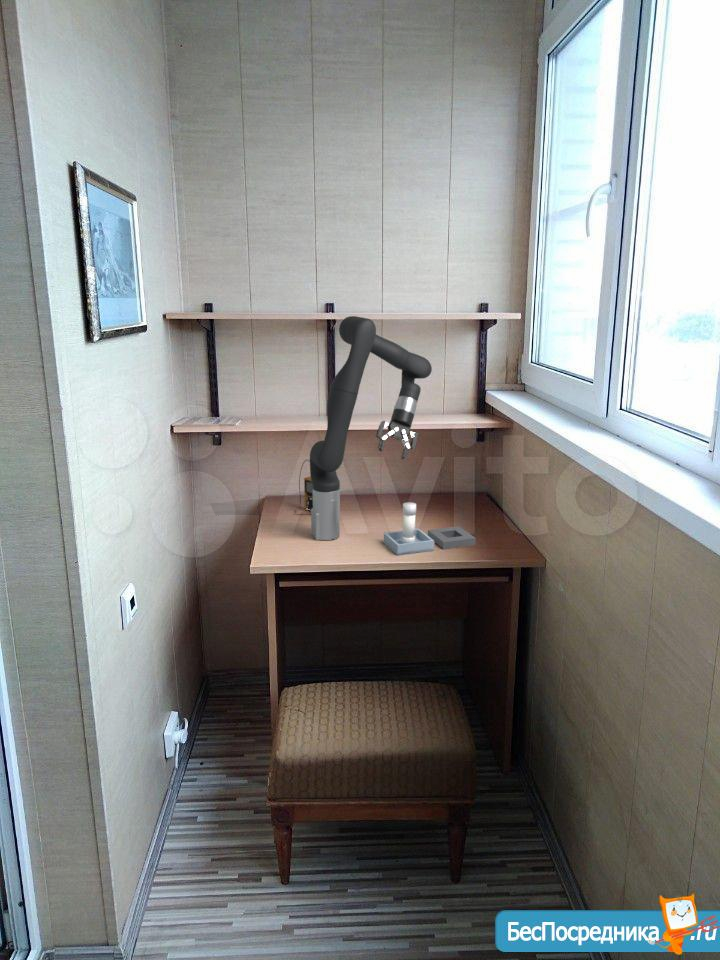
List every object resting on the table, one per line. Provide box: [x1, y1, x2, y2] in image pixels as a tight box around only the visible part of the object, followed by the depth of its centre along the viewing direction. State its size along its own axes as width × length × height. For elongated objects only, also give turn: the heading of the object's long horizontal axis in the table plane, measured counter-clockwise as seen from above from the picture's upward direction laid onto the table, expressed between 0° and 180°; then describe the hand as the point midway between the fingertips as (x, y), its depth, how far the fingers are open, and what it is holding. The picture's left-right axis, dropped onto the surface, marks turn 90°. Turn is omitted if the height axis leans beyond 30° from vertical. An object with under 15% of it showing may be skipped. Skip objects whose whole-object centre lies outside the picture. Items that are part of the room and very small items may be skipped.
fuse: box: [402, 501, 417, 544], centre depth 223 cm, size 4×4×14 cm
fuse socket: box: [427, 525, 476, 550], centre depth 230 cm, size 12×12×2 cm
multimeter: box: [298, 459, 313, 510], centre depth 254 cm, size 15×10×20 cm
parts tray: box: [383, 528, 435, 556], centre depth 225 cm, size 13×12×4 cm
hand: (391, 454), depth 236 cm, fingers open, 8 cm apart
